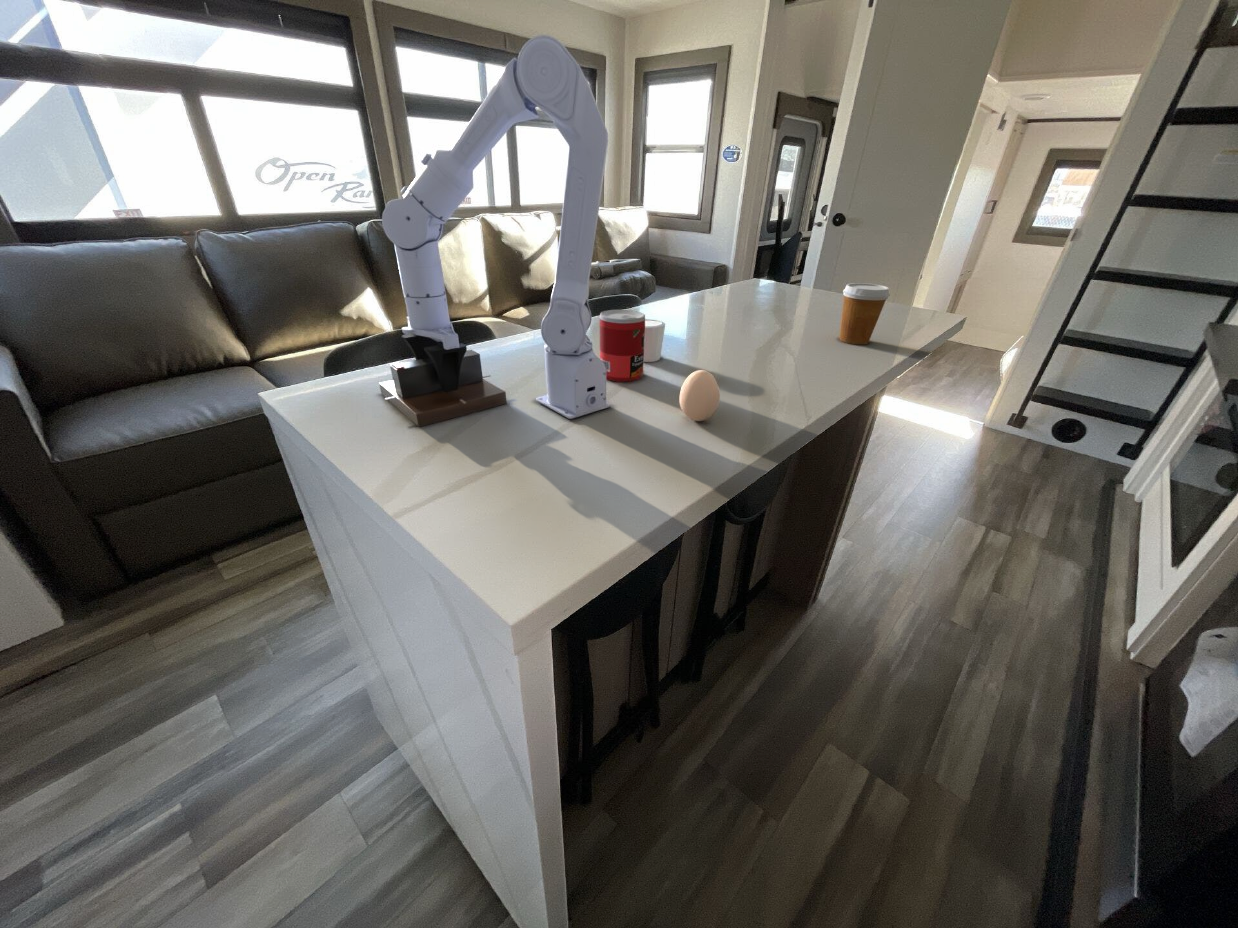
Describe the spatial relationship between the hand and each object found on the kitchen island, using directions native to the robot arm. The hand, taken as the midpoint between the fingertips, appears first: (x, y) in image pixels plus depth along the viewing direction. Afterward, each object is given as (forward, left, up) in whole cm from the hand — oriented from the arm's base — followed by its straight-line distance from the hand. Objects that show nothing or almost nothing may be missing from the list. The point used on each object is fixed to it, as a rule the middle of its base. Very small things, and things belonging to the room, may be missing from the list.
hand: (440, 383), depth 77 cm
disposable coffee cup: (-24, -88, -3) cm, 91 cm away
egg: (-31, -26, -3) cm, 41 cm away
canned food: (-9, -30, -3) cm, 31 cm away
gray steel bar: (0, 0, -1) cm, 1 cm away
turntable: (0, 0, -3) cm, 3 cm away
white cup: (-4, -41, -3) cm, 41 cm away
